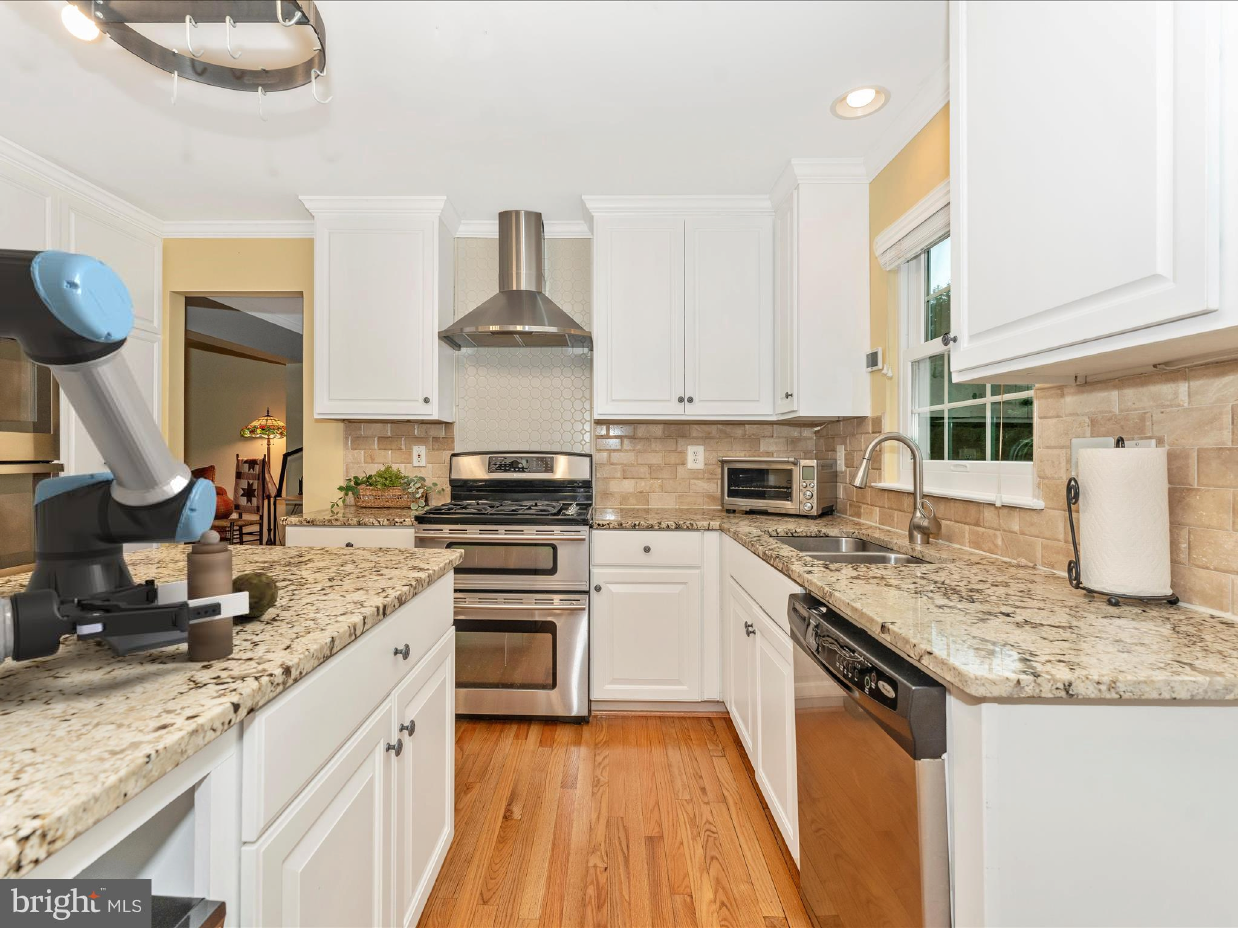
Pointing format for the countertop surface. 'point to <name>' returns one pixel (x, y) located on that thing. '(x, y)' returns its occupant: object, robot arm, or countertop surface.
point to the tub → (145, 640)
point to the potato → (256, 592)
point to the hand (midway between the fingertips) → (229, 593)
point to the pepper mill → (205, 580)
